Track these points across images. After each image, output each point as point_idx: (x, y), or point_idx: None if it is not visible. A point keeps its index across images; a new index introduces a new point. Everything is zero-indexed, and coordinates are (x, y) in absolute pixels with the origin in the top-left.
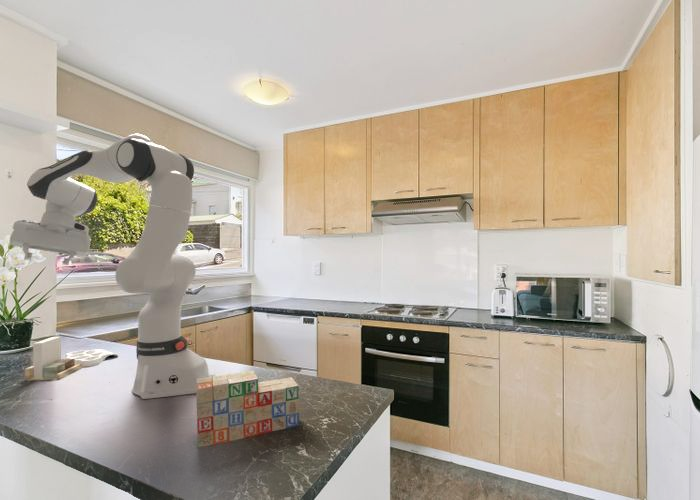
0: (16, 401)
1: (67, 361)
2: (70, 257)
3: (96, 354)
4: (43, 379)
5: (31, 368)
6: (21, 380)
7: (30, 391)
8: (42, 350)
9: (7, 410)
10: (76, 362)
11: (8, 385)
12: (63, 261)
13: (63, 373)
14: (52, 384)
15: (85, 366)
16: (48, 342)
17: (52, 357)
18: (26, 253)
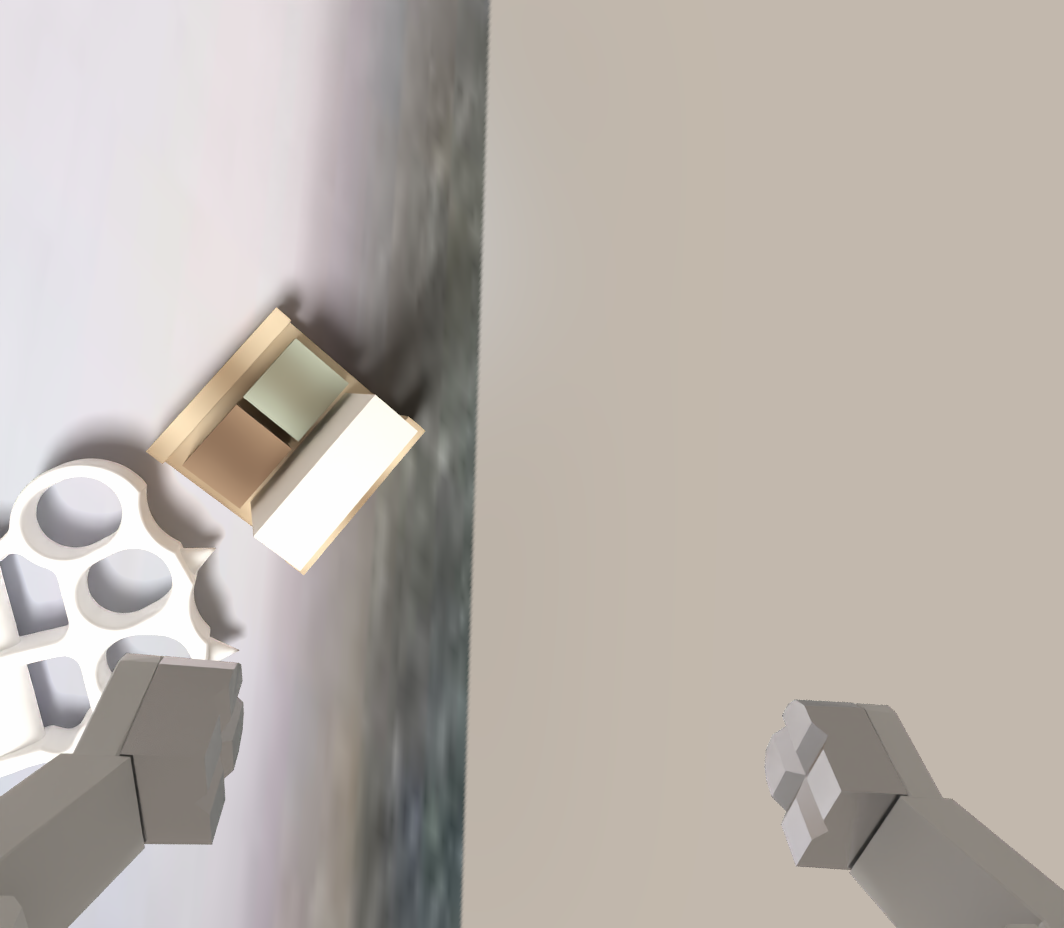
0: (450, 166)
1: (226, 421)
2: (45, 790)
3: (23, 646)
4: (342, 373)
5: None
6: (417, 505)
7: (397, 271)
8: (365, 397)
9: (482, 70)
10: (164, 542)
11: (465, 460)
12: (232, 666)
13: (257, 329)
14: (308, 305)
15: (124, 468)
16: (335, 438)
17: (302, 456)
18: (916, 770)
